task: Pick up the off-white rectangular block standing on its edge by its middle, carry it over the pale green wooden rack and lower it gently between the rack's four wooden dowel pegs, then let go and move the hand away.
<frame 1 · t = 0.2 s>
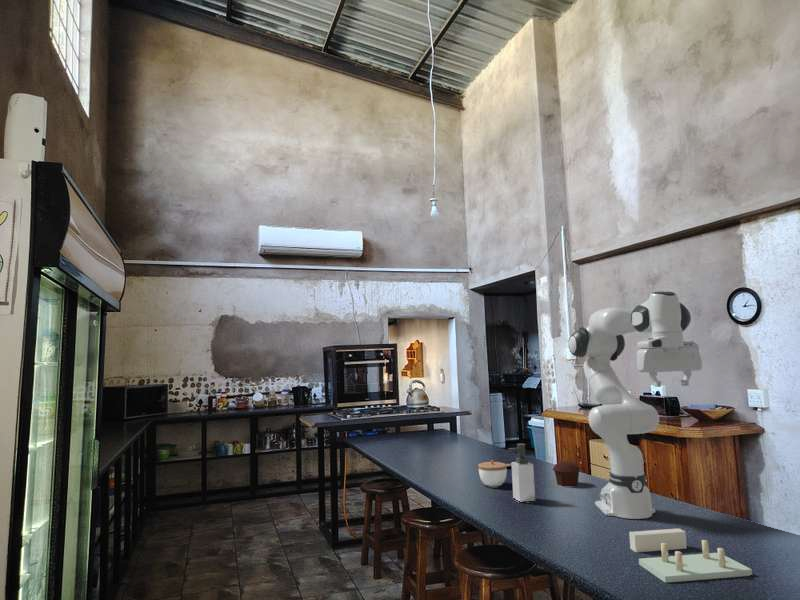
hand: (671, 386, 165), 47 cm above the table, tool pointing down, fingers open, 8 cm apart
lidded bowl: (493, 485, 237), on the table
stone fragment: (505, 469, 273), on the table
muffin: (567, 485, 235), on the table
off-white rectangular block: (658, 549, 157), on the table
soap dispenser: (521, 500, 212), on the table
strip rack: (693, 569, 141), on the table
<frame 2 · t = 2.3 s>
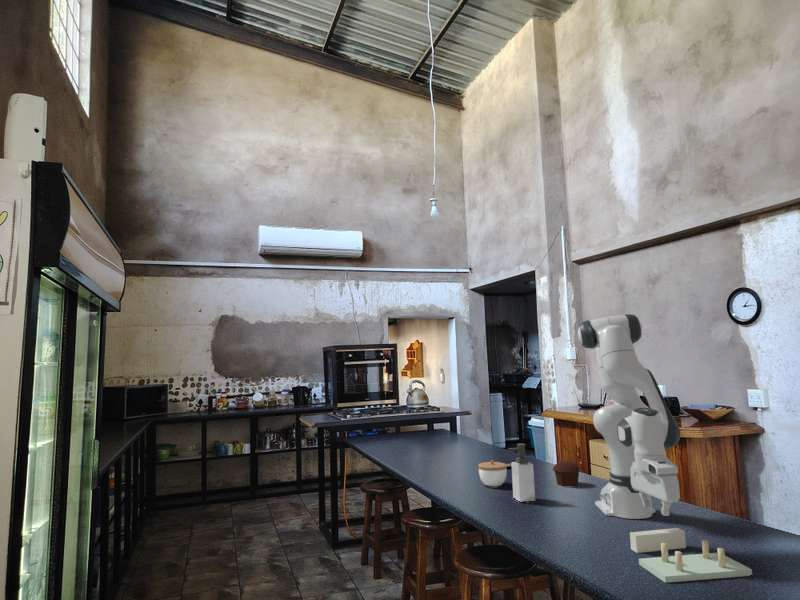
hand: (655, 510, 158), 11 cm above the table, tool pointing down, fingers open, 8 cm apart
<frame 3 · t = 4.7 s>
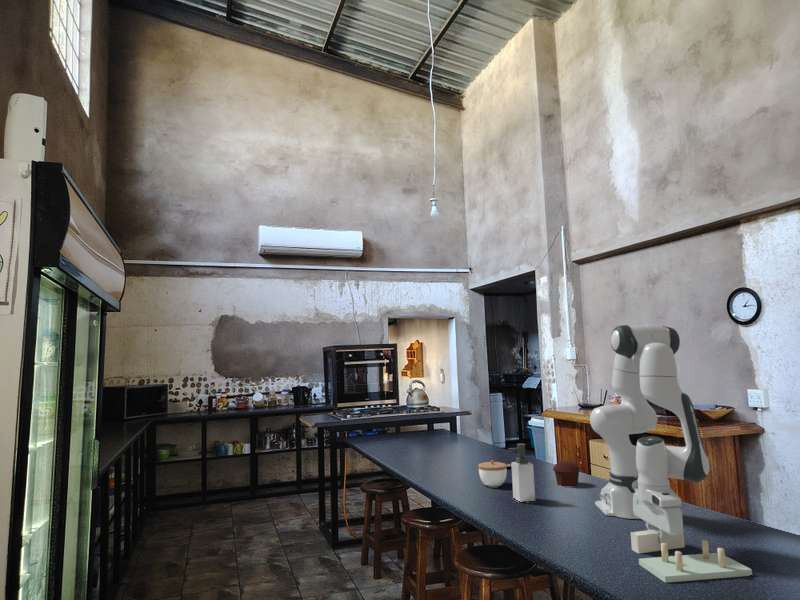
hand: (657, 540, 157), 2 cm above the table, tool pointing down, fingers closed on off-white rectangular block, 3 cm apart
off-white rectangular block: (658, 548, 157), on the table, touching gripper
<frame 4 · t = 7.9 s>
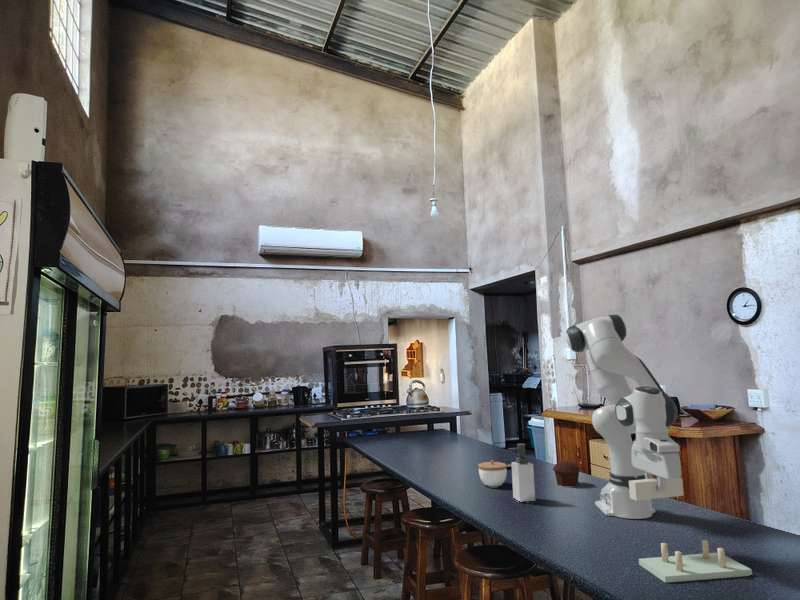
hand: (656, 489, 157), 17 cm above the table, tool pointing down, fingers closed on off-white rectangular block, 3 cm apart
off-white rectangular block: (656, 496, 157), point 15 cm above the table, touching gripper
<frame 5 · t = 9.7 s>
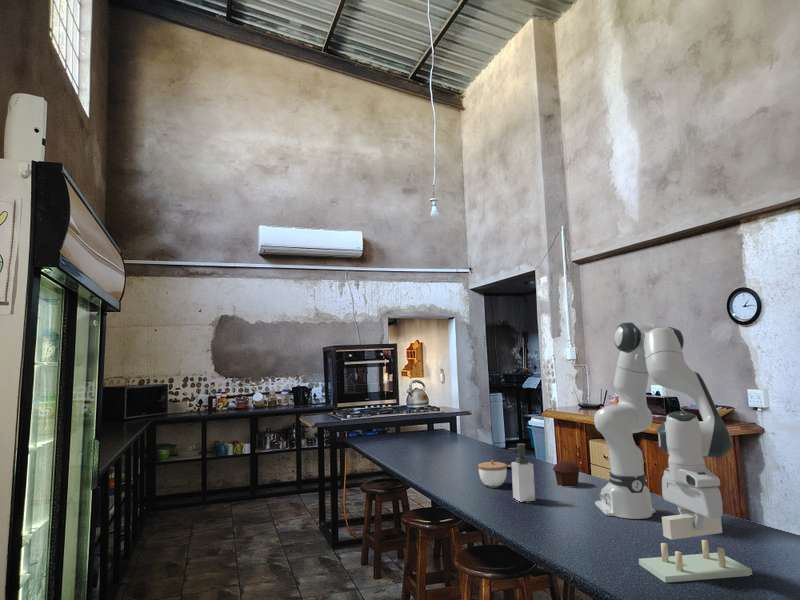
hand: (692, 526, 142), 11 cm above the table, tool pointing down, fingers closed on off-white rectangular block, 3 cm apart
off-white rectangular block: (693, 534, 142), point 9 cm above the table, touching gripper
when the fingers open (5 cm above the table, at t = 11.1 s): off-white rectangular block drops 1 cm, resting on strip rack.
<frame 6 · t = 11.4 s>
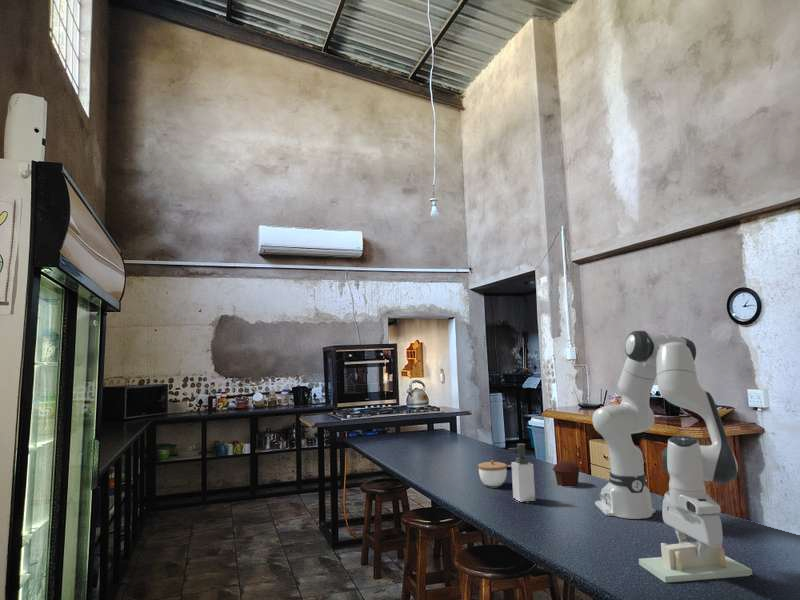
hand: (692, 551, 142), 5 cm above the table, tool pointing down, fingers open, 5 cm apart
off-white rectangular block: (693, 563, 142), point 1 cm above the table, touching strip rack
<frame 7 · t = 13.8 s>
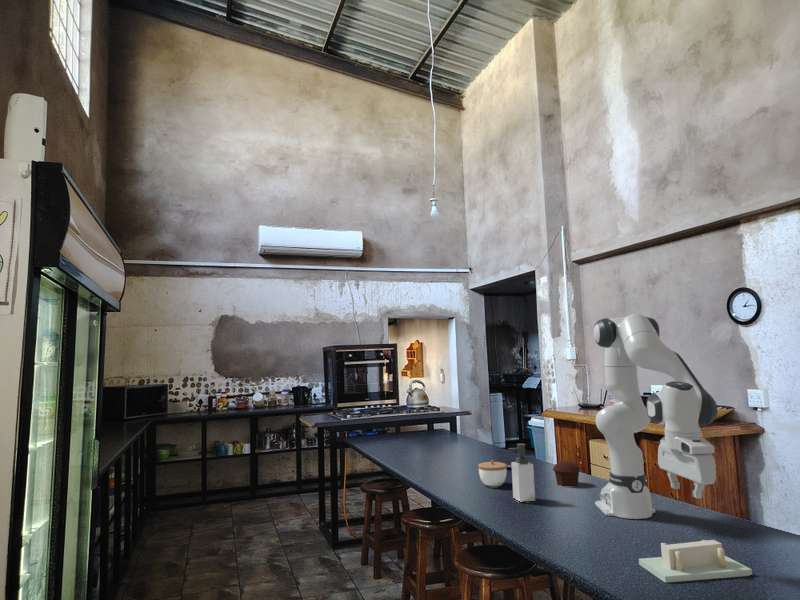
hand: (686, 493, 145), 20 cm above the table, tool pointing down, fingers open, 8 cm apart
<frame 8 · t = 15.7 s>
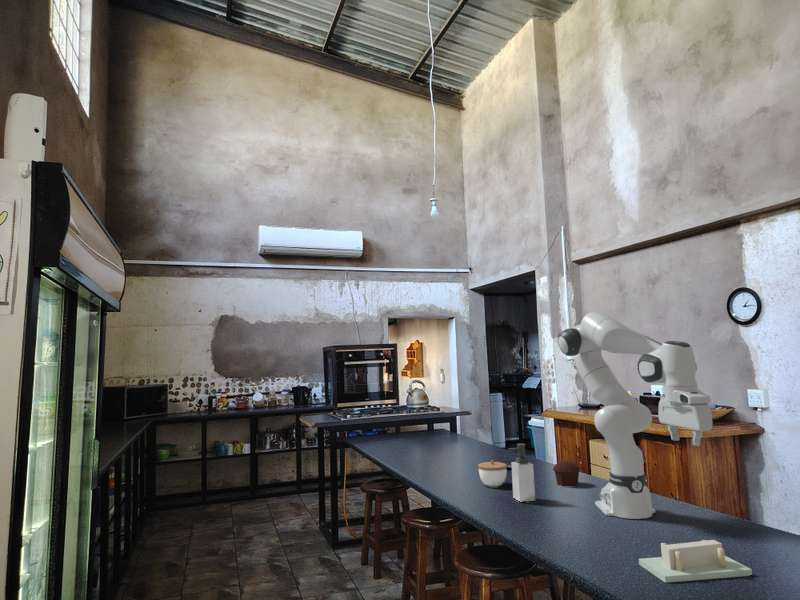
hand: (685, 442, 156), 31 cm above the table, tool pointing down, fingers open, 8 cm apart
at the end: off-white rectangular block 0.1 cm off-centre on the strip rack, point 1.5 cm above the strip rack's base; off-white rectangular block tilted 0°; the gripper is holding nothing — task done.
